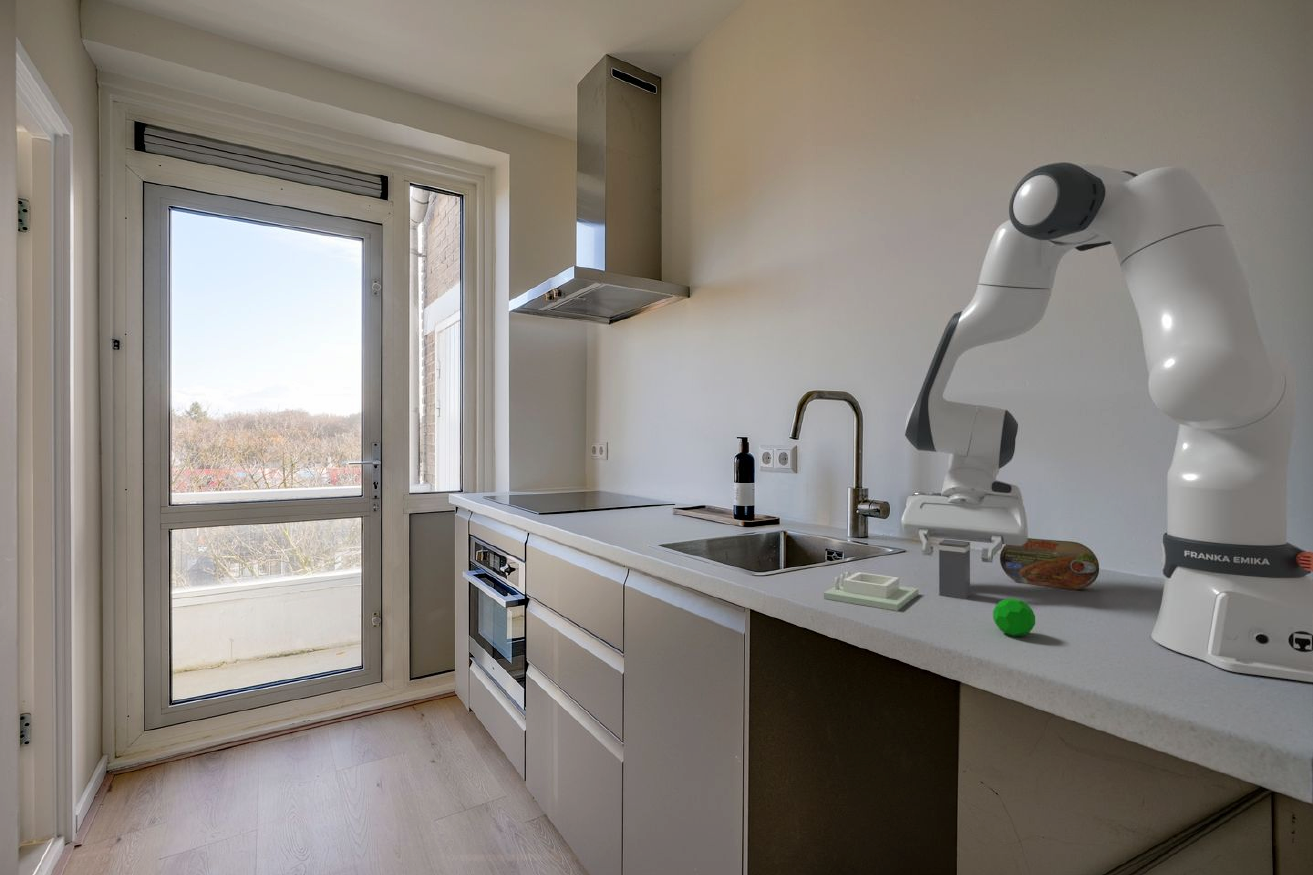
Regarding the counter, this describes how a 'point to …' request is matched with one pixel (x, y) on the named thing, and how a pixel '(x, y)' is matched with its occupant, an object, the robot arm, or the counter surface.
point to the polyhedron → (1014, 617)
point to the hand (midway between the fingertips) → (955, 556)
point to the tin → (1050, 563)
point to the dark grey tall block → (954, 569)
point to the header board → (871, 591)
